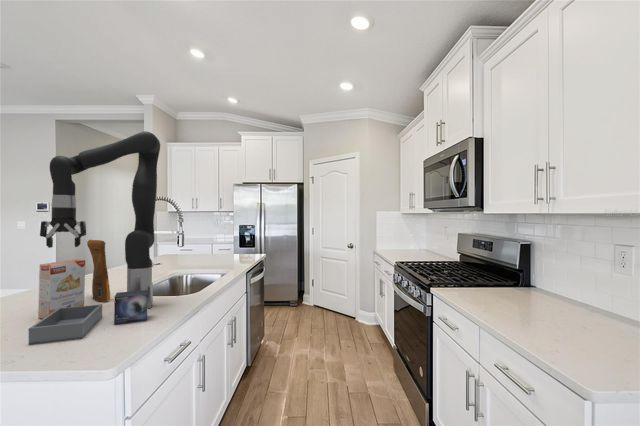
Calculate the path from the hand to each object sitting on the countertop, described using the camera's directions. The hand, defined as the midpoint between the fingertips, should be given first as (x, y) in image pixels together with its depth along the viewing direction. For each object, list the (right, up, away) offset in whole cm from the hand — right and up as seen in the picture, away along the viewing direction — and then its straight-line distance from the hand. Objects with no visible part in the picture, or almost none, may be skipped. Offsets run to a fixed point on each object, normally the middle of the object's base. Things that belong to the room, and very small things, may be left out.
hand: (63, 247), depth 123 cm
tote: (+16, -27, -16) cm, 35 cm away
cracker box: (0, -27, 0) cm, 27 cm away
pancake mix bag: (0, -27, +21) cm, 34 cm away
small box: (+31, -27, -7) cm, 42 cm away
